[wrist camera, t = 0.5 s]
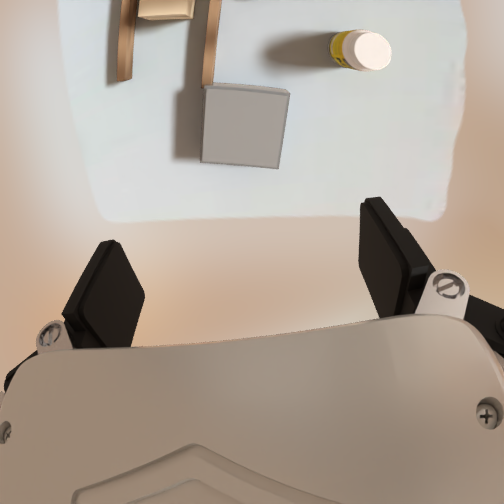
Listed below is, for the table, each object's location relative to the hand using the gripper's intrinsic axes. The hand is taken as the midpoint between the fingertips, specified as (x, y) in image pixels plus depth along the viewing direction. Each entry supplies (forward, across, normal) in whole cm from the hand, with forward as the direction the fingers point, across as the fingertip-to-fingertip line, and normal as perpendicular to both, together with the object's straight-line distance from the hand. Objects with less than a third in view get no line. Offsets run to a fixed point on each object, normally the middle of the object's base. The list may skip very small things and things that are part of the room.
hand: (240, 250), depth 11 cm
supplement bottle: (+28, -13, -6) cm, 32 cm away
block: (+28, +5, -16) cm, 33 cm away
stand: (+28, 0, +1) cm, 28 cm away
